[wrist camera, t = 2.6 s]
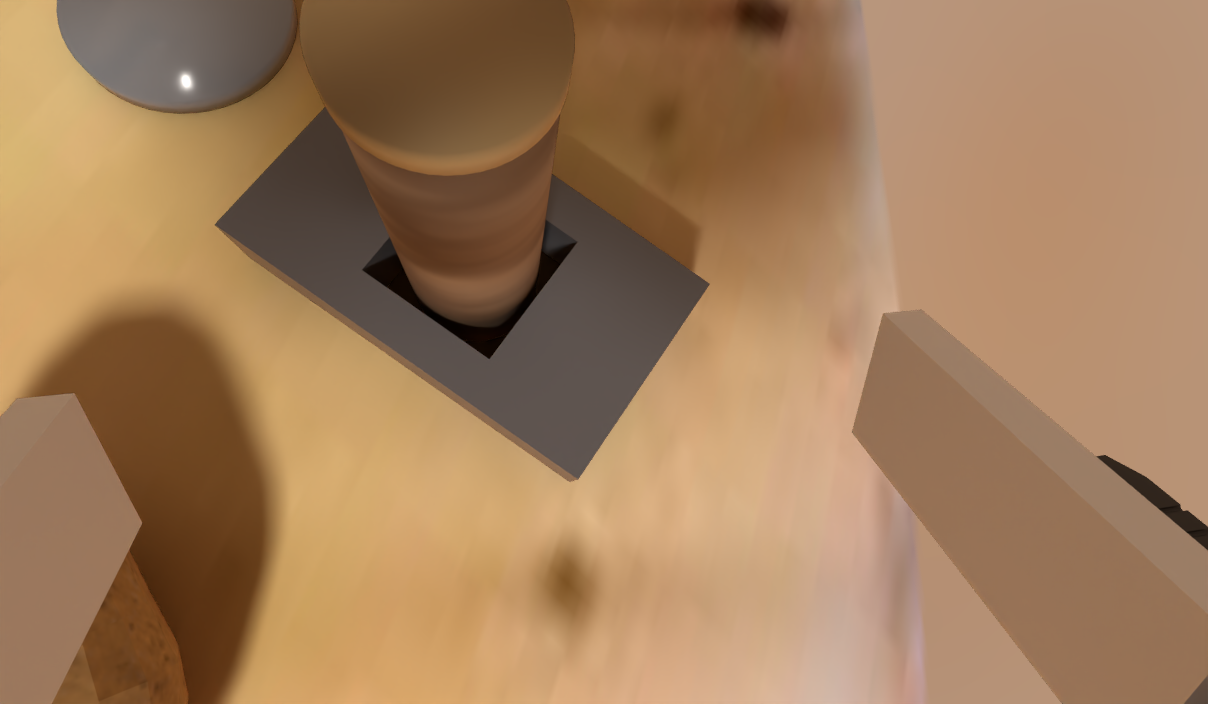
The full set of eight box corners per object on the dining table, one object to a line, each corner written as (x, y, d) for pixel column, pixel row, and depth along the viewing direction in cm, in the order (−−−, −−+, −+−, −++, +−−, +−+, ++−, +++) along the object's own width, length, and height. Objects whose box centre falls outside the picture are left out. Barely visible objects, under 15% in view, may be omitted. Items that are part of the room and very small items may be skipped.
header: (249, 257, 24) (214, 224, 21) (391, 101, 26) (376, 52, 23) (569, 481, 24) (578, 479, 21) (687, 307, 26) (709, 283, 23)
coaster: (20, 29, 25) (4, 14, 24) (176, -107, 27) (166, -124, 26) (198, 153, 25) (188, 142, 24) (340, 8, 27) (335, -7, 26)
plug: (387, 296, 25) (237, 44, 11) (463, 202, 26) (415, -129, 12) (490, 368, 25) (469, 206, 11) (562, 272, 26) (624, 16, 12)
